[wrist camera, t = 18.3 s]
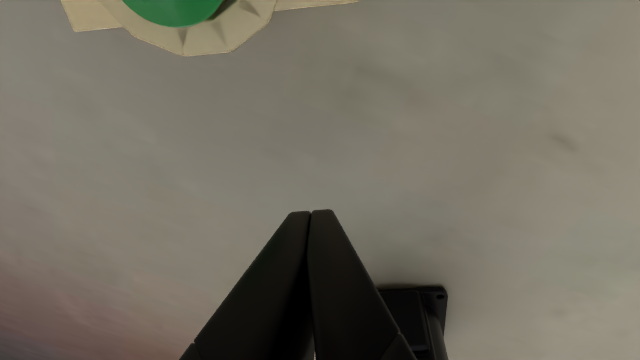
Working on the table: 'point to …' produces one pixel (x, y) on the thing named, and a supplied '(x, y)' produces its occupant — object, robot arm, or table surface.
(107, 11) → the console
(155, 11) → the button
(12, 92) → the table surface
